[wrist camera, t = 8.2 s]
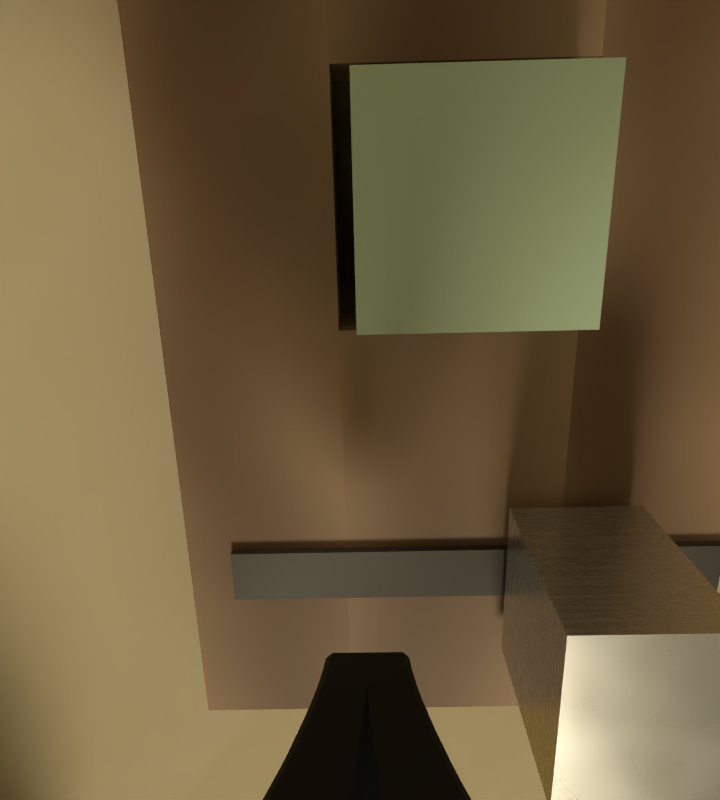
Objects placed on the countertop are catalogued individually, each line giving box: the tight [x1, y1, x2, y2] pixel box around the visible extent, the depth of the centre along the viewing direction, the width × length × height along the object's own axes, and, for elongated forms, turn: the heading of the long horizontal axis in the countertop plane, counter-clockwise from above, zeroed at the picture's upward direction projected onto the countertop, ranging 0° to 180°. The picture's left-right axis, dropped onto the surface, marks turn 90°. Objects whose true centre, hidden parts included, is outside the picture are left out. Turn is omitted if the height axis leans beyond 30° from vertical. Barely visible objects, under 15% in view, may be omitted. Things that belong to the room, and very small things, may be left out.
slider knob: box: [501, 506, 720, 800], centre depth 12 cm, size 3×4×4 cm
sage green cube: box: [349, 57, 626, 335], centre depth 11 cm, size 4×4×4 cm
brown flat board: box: [117, 0, 720, 710], centre depth 13 cm, size 12×24×2 cm, turn 1°
